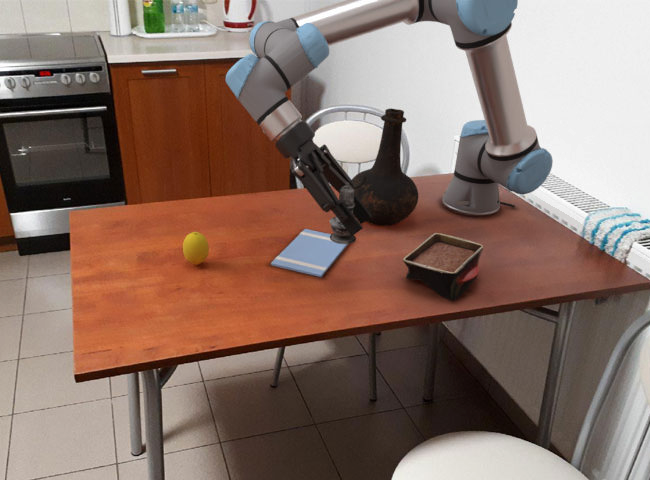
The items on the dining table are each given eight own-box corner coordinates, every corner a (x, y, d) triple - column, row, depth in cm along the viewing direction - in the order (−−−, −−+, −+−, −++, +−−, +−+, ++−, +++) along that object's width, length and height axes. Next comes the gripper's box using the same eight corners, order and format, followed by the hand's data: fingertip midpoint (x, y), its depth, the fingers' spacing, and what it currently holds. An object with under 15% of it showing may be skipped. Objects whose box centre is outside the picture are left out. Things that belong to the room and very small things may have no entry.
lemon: (198, 256, 143) (197, 224, 139) (214, 265, 140) (213, 232, 136) (178, 264, 140) (176, 231, 136) (194, 273, 137) (192, 239, 132)
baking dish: (390, 289, 138) (395, 252, 131) (433, 251, 148) (440, 215, 141) (449, 319, 131) (457, 281, 124) (490, 277, 141) (500, 240, 134)
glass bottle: (336, 207, 170) (345, 100, 155) (398, 203, 174) (413, 98, 159) (357, 236, 155) (369, 121, 141) (425, 231, 159) (444, 119, 144)
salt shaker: (355, 246, 125) (361, 189, 119) (326, 242, 126) (330, 185, 120) (358, 233, 130) (364, 178, 124) (330, 230, 131) (334, 175, 125)
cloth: (270, 265, 141) (270, 262, 141) (304, 230, 157) (305, 228, 156) (321, 277, 137) (321, 274, 137) (351, 240, 153) (351, 238, 153)
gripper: (293, 130, 131) (362, 218, 135) (254, 156, 117) (332, 254, 120) (319, 107, 127) (389, 199, 130) (282, 132, 113) (362, 234, 116)
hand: (362, 225), depth 125 cm, fingers closed on salt shaker, 5 cm apart
